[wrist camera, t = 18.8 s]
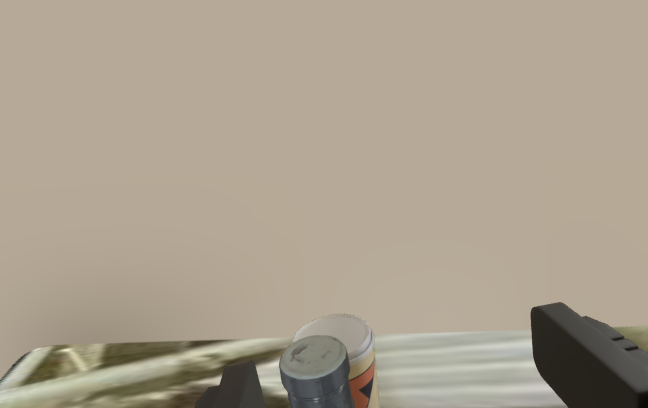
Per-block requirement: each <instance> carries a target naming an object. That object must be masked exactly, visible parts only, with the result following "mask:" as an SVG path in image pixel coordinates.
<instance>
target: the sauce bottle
mask: <svg viewBox="0 0 648 408" xmlns="http://www.w3.org/2000/svg"><path fill="white" fill-rule="evenodd" d="M279 368H280V374H281V380H282V384H283V386H284V388H285V389H286V390H287V392H288V398H289V401H290V405H291V408H355V402H354V399H353V397H352V395H351V388H350V383H349V377H348V376H349V373H350V363H349V357H348V353H347V349H346V347H345V345H344V344H343V343H342V342H341V341H340V340H339V339H337V338H335V337H332V336H328V335H313V336H308V337H305V338H302V339H299V340H297V341H296V342H294V343H292V344H291V345H289V346H288V347H287V349H286V350H285V351H284V352H283V354H282V356H281V358H280V362H279Z"/></svg>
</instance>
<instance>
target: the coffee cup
mask: <svg viewBox="0 0 648 408" xmlns="http://www.w3.org/2000/svg"><path fill="white" fill-rule="evenodd" d="M313 335H328V336H332V337H335V338H337V339H339V340H340V341H341V342H342V343H343V344H344V345H345V347H346V349H347V353H348V357H349V363H350V373H349V376H348V377H349V383H350V388H351V395H352V397H353V399H354V402H355V408H380V402H379V391H378V380H377V370H376V360H375V351H374V334H373V331H372V329H371V328H370V327H369V325H368V324H367V323H366V322H365V321H364V320H363V319H361V318H359V317H356V316H353V315H348V314H335V315H328V316H323V317H320V318H317V319H315V320H312V321H310V322H309V323H307V324H306V325H304V326H303V327H301V328H300V329H299V330H298V332H297V333H296V334H295V336H294V338H293V341H292V343H294V342H296V341H297V340H299V339H302V338H305V337H308V336H313Z"/></svg>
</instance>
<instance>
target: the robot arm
mask: <svg viewBox="0 0 648 408" xmlns="http://www.w3.org/2000/svg"><path fill="white" fill-rule="evenodd" d="M531 330H532V346H533V357H534V361H535V364H536V367H537V369H538V371H539V373H540V375H541V376H542V378H543V379H544V380H545V381H546V382H547V384H548V385H549V386H550V387H551V388H552V389H553V390H554V392H555V393H556V394H557V395H558V396H559V397H560V398H561V399H562V401H563V402H564V403H565V404H566V405H567V406H568V407H569V408H648V353H647V352H645V351H644V350H642V349H639V348H638V346H637V345H635V344H634V343H633V342H631V341H630V340H628V339H625V338H624V336H623V335H621V334H620V333H619V332H617V331H616V330H614V329H613V328H612V327H610V326H609V325H607V324H605V323H602V322H599V321H597V320H594V319H592V318H590V317H587V316H585V317H581V316H580V315H578V314H577V313H576V312H574V311H573V310H572V309H570V308H569V307H568V306H566V305H565V304H564V303H561V302H558V303H553V304H548V305H542V306H537V307H533V308H532V310H531ZM195 408H266V406H265V402H264V398H263V394H262V390H261V386H260V382H259V378H258V374H257V370H256V367H255V364H254V362H253V361H252V360H250V361H245V362H240V363H235V364H230V365H226V366H225V368H224V372H223V375H222V378H221V382H220V385H219V386H214V387H209V388H208V389H207V390H206V392H205V393H204V394H203V395H202V396H201V398H200V399H199V400H198V401H197V402H196V405H195Z"/></svg>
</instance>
